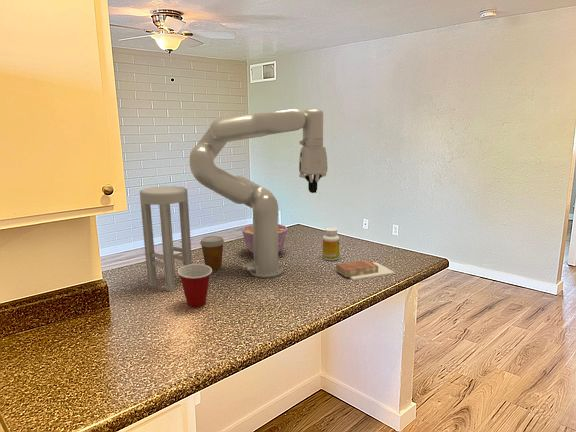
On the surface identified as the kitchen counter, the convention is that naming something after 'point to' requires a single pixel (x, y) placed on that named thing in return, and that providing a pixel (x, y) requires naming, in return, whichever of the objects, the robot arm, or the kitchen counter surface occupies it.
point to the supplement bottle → (330, 244)
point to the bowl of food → (249, 236)
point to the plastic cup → (195, 283)
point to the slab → (356, 268)
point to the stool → (165, 231)
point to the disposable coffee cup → (212, 251)
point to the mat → (381, 272)
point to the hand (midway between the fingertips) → (312, 192)
